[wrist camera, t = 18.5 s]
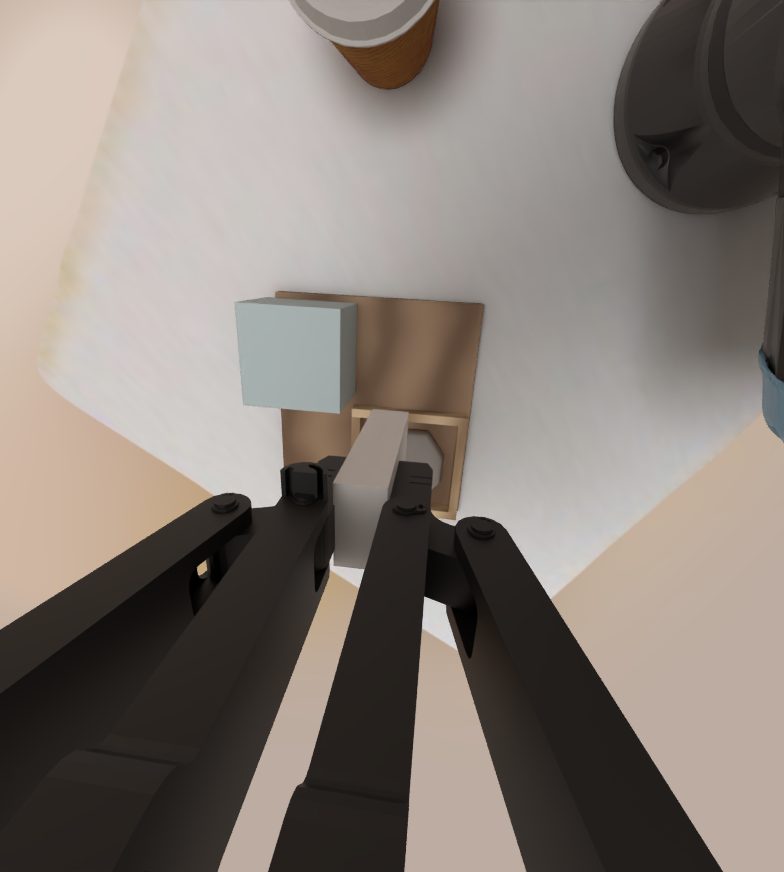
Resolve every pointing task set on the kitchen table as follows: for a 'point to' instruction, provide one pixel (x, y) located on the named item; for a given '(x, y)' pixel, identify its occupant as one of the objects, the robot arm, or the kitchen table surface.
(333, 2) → the disposable coffee cup
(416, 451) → the flask
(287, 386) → the pale blue block
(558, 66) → the kitchen table surface
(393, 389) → the board
